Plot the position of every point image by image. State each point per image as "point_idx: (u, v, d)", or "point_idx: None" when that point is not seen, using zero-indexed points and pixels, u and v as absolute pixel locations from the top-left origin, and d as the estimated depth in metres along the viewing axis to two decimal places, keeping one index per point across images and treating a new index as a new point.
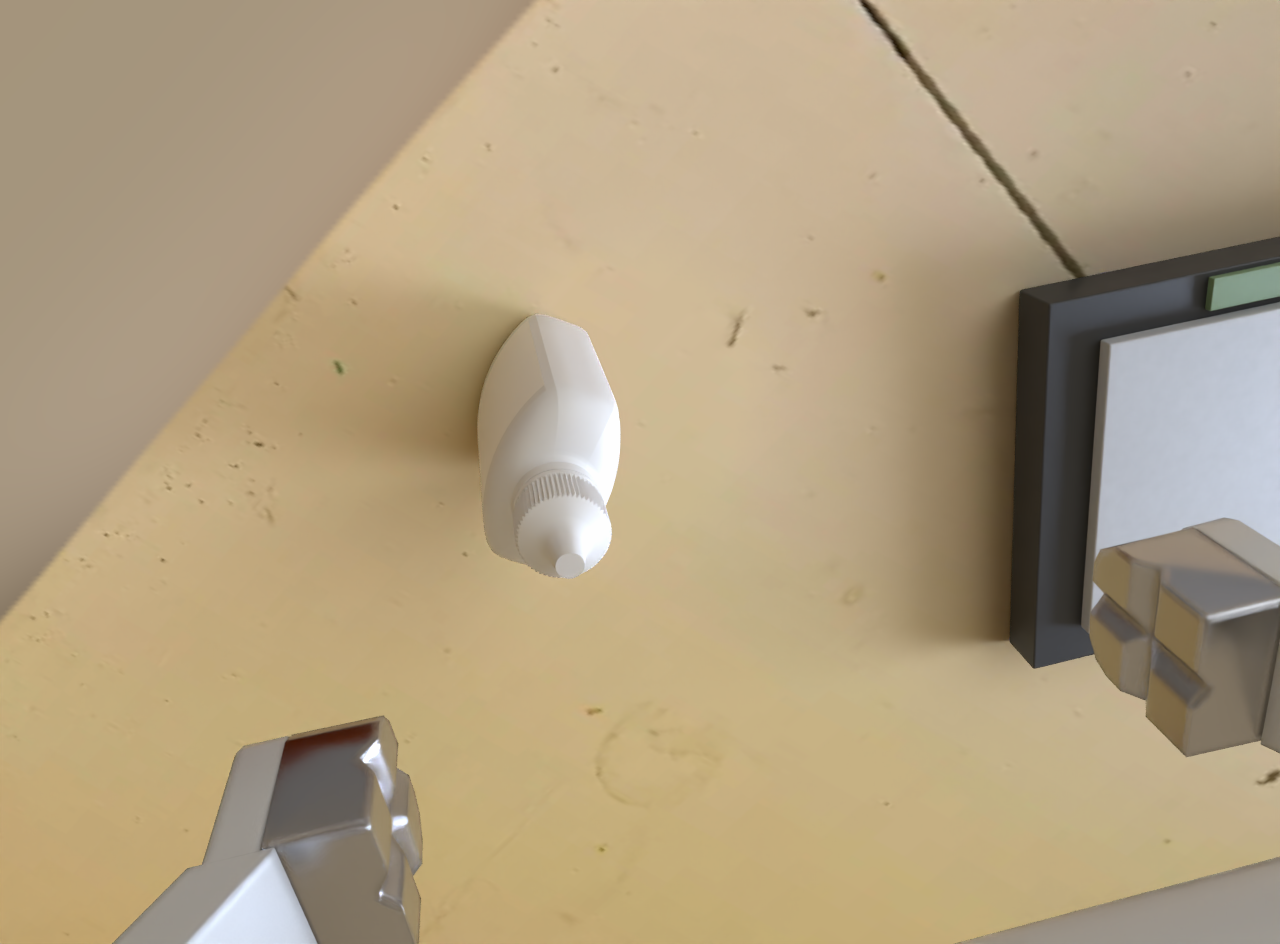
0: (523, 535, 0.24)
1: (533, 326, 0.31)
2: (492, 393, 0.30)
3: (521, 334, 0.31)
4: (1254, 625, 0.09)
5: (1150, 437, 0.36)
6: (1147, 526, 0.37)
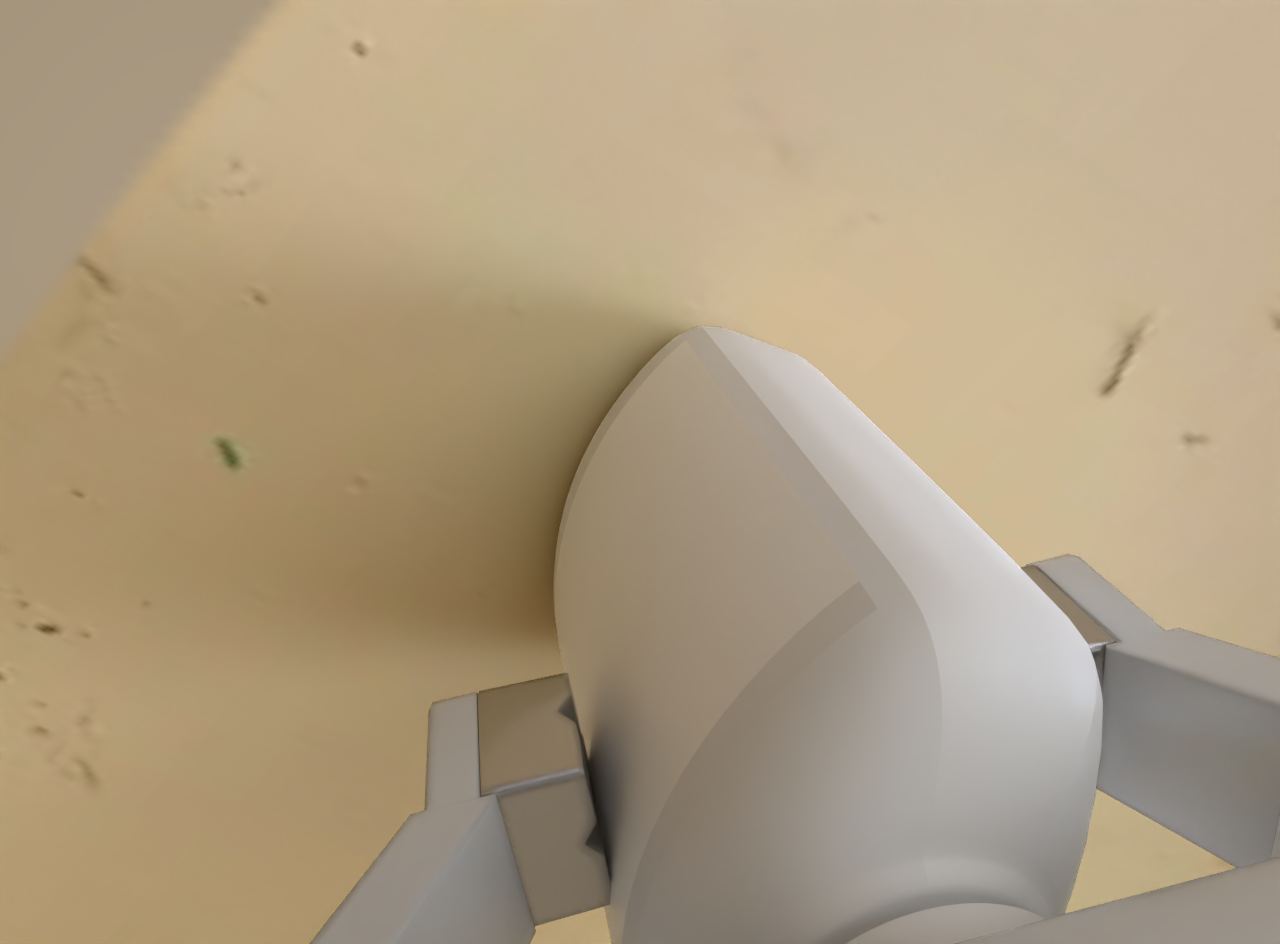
0: None
1: (710, 358, 0.12)
2: (611, 533, 0.12)
3: (678, 378, 0.12)
4: None
5: None
6: None
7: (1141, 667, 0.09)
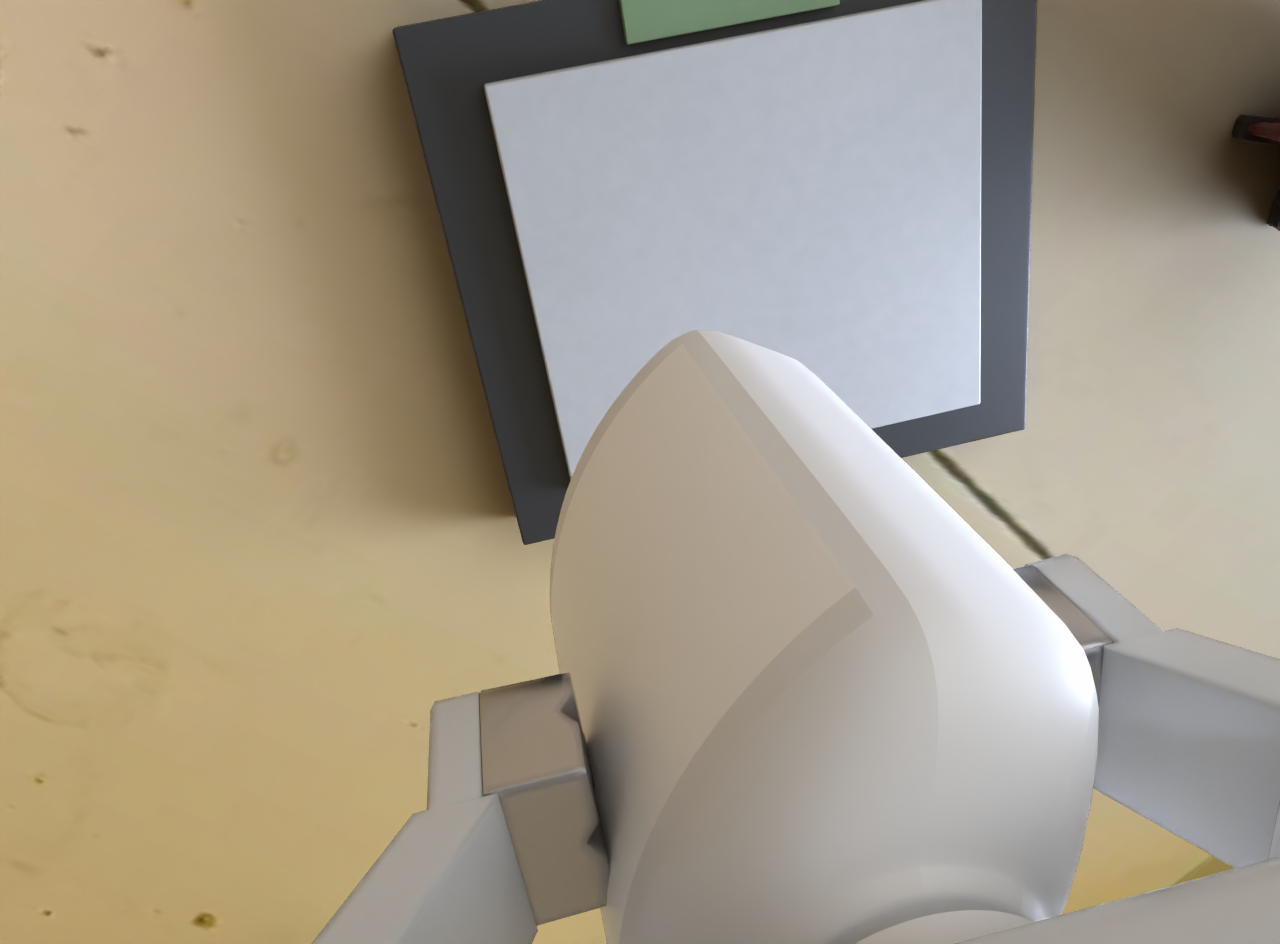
0: None
1: (707, 361, 0.12)
2: (608, 538, 0.12)
3: (675, 382, 0.12)
4: None
5: (583, 224, 0.27)
6: (613, 350, 0.29)
7: (1139, 667, 0.09)
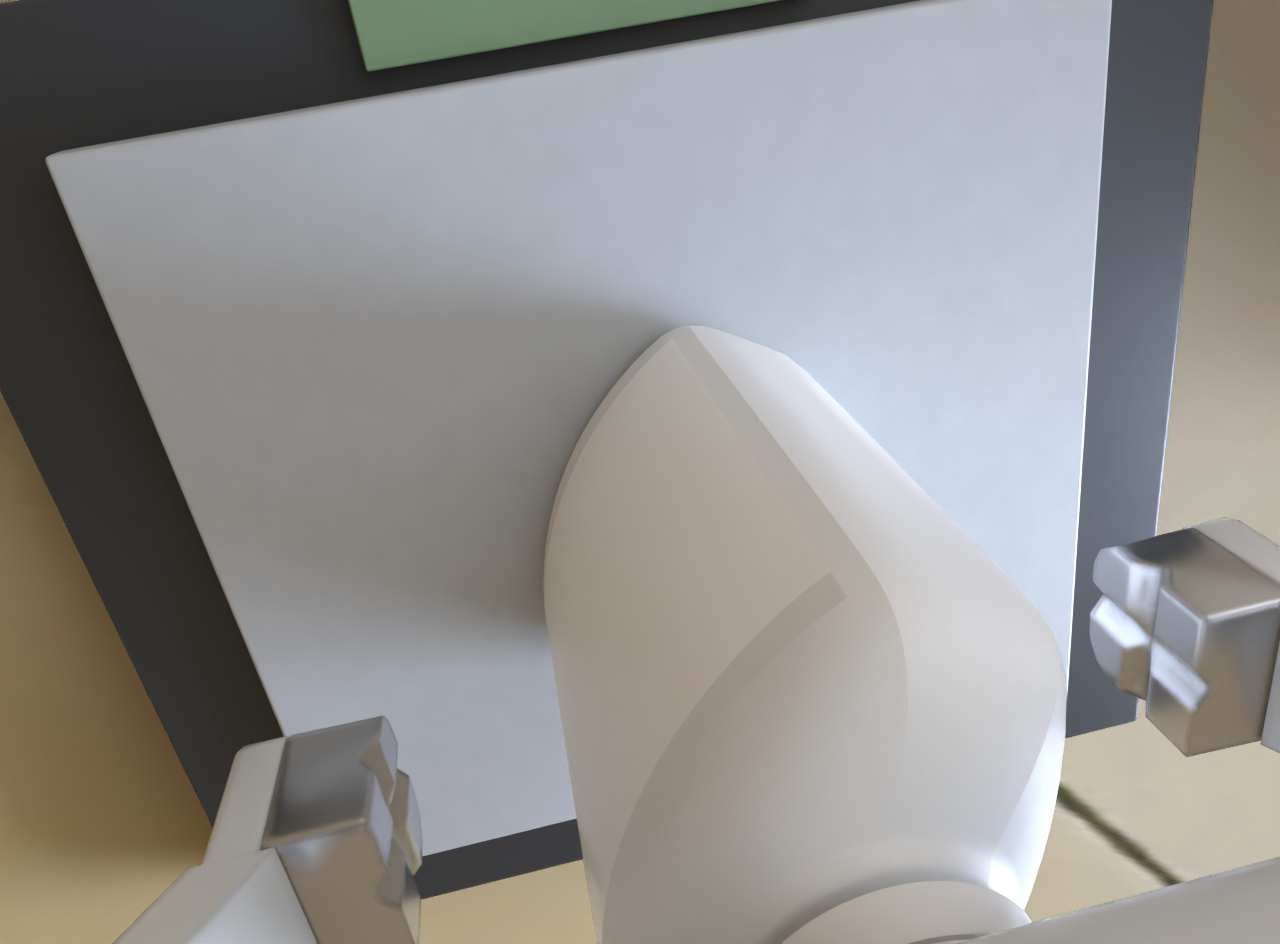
0: None
1: (695, 356, 0.12)
2: (598, 528, 0.12)
3: (664, 376, 0.13)
4: (1254, 625, 0.09)
5: (302, 427, 0.14)
6: (390, 645, 0.15)
7: None
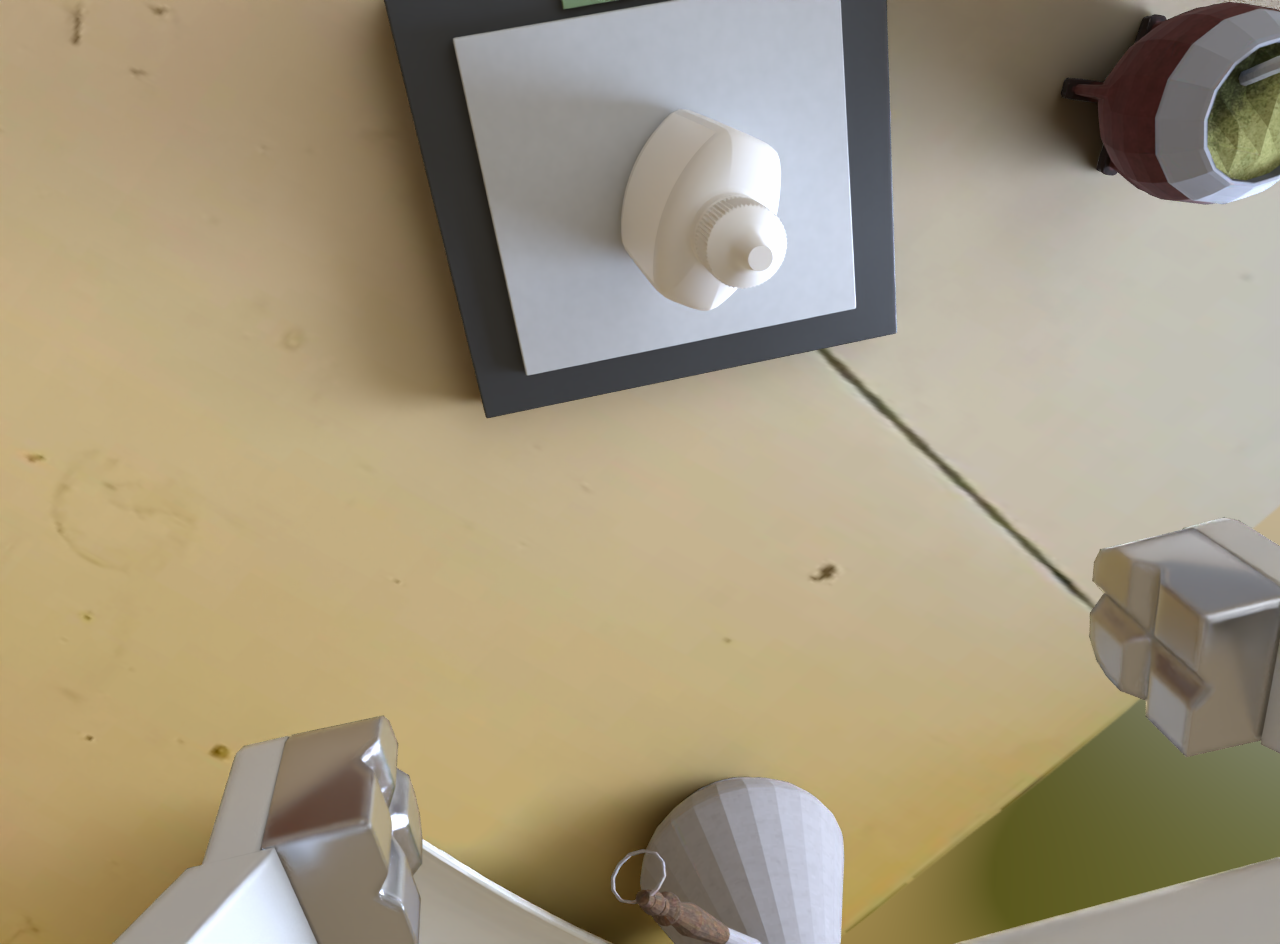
0: (712, 242, 0.27)
1: (682, 113, 0.34)
2: (647, 171, 0.33)
3: (671, 122, 0.34)
4: (1254, 625, 0.09)
5: (530, 150, 0.35)
6: (556, 253, 0.37)
7: None
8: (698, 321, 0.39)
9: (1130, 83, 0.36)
